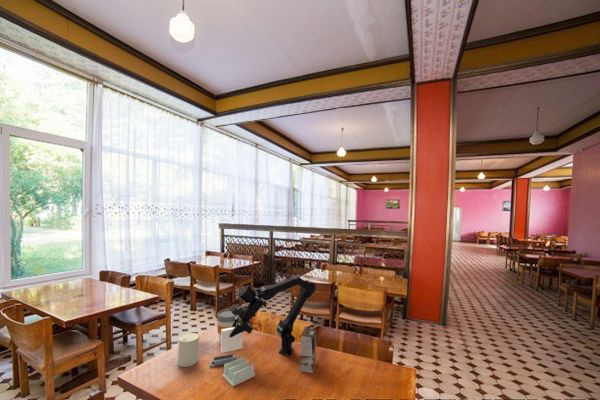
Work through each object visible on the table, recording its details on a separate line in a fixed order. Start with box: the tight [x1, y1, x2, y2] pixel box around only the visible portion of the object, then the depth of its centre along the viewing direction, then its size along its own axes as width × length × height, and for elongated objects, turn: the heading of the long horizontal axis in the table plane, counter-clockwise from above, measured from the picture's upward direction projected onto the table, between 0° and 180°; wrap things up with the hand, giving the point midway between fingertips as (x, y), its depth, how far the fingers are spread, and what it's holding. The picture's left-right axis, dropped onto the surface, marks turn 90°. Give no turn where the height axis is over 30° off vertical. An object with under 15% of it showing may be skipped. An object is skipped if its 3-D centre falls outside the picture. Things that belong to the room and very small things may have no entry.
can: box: [176, 332, 200, 368], centre depth 127 cm, size 9×9×12 cm
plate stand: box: [208, 353, 238, 369], centre depth 126 cm, size 13×4×2 cm, turn 112°
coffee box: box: [299, 328, 317, 374], centre depth 125 cm, size 9×6×16 cm
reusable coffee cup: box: [216, 308, 236, 344], centre depth 149 cm, size 13×13×15 cm
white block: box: [220, 327, 244, 354], centre depth 126 cm, size 10×2×10 cm, turn 117°
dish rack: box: [222, 356, 256, 387], centre depth 117 cm, size 11×9×5 cm
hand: (229, 335), depth 125 cm, fingers closed on white block, 2 cm apart
